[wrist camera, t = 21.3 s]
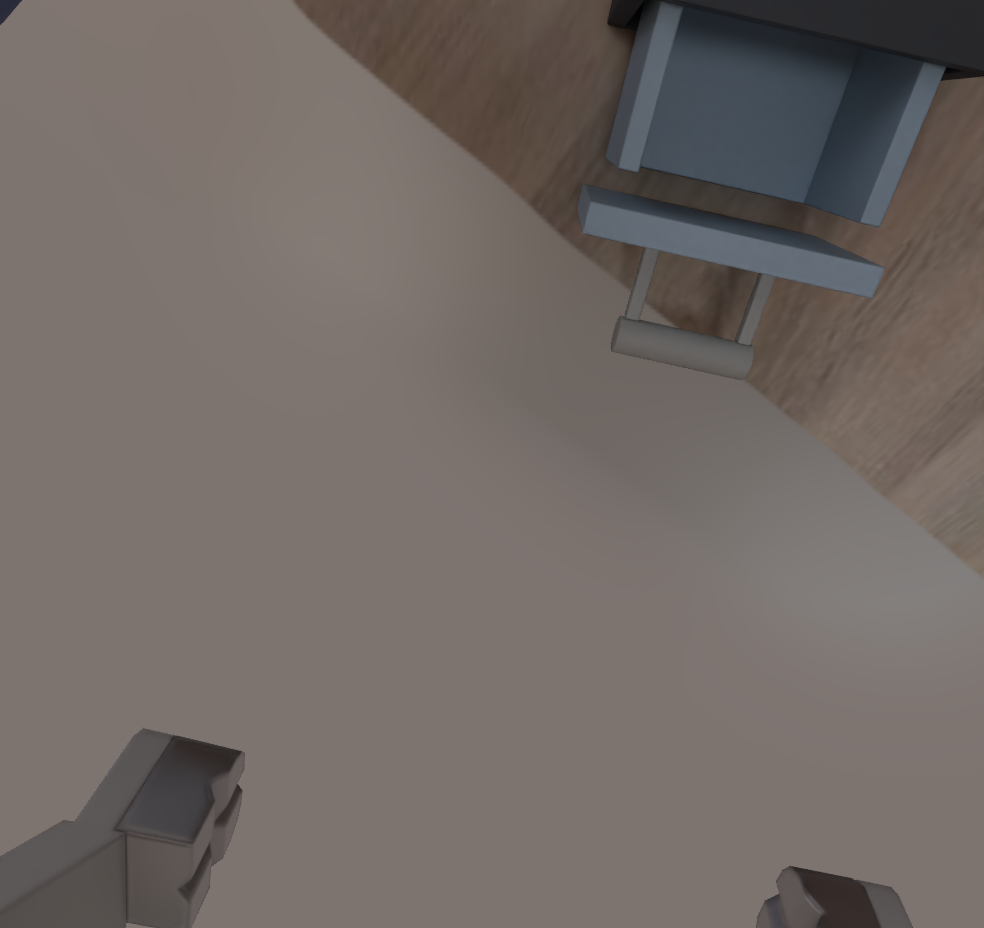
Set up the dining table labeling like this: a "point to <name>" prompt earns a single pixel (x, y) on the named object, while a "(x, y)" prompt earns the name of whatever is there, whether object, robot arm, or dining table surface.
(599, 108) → the dining table surface
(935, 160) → the dining table surface
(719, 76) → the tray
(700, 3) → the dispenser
